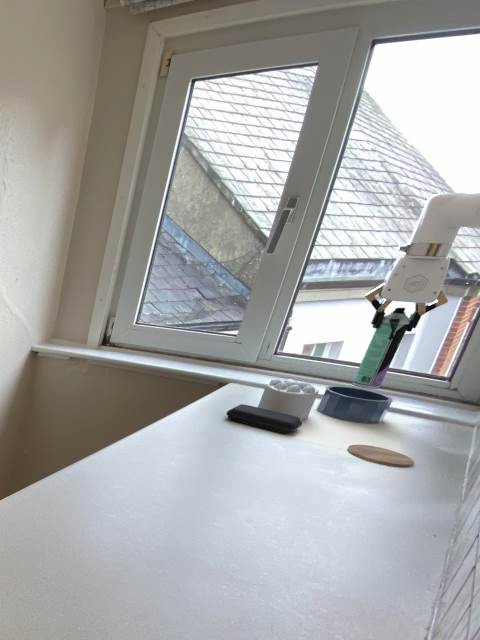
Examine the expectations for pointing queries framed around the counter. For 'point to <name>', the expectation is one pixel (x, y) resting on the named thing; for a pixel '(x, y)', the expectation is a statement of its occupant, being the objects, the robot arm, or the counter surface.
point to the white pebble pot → (289, 397)
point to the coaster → (381, 455)
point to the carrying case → (264, 418)
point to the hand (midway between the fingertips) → (391, 328)
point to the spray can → (382, 350)
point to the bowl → (354, 404)
